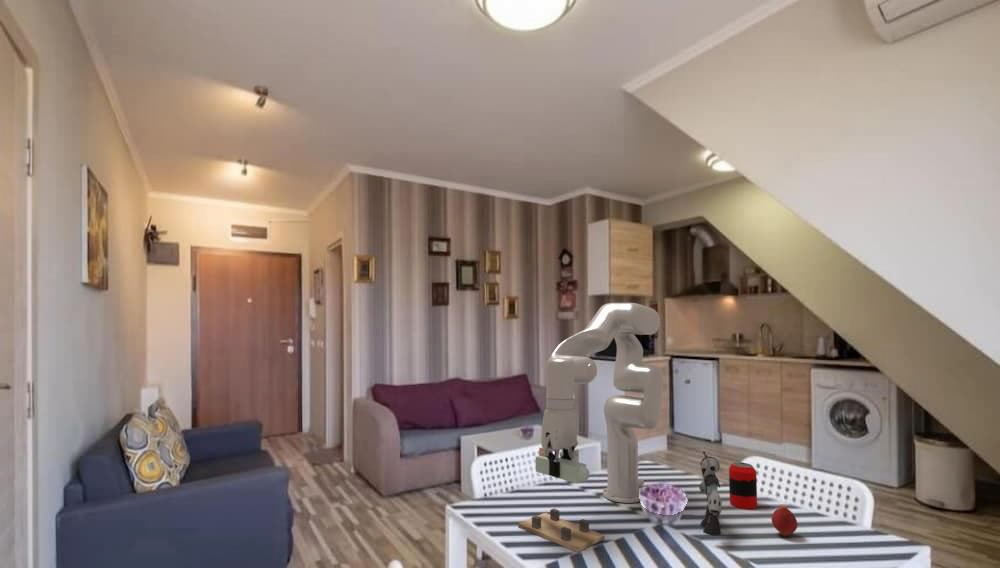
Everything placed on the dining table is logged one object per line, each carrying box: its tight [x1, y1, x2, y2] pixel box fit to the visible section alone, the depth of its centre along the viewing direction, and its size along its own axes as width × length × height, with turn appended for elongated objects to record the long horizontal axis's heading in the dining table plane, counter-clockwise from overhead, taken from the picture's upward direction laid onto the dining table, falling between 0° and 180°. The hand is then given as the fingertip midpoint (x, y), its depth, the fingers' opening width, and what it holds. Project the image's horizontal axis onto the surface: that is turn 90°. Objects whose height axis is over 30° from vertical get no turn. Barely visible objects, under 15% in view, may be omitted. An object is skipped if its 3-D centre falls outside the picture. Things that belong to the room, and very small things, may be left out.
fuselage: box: [535, 447, 591, 484], centre depth 132 cm, size 4×16×6 cm, turn 44°
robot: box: [698, 451, 723, 536], centre depth 136 cm, size 20×5×20 cm, turn 166°
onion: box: [771, 503, 798, 537], centre depth 131 cm, size 6×6×8 cm
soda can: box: [728, 461, 758, 510], centre depth 153 cm, size 8×8×12 cm
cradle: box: [517, 508, 605, 553], centre depth 132 cm, size 11×20×4 cm, turn 44°
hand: (560, 473), depth 133 cm, fingers closed on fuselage, 4 cm apart
